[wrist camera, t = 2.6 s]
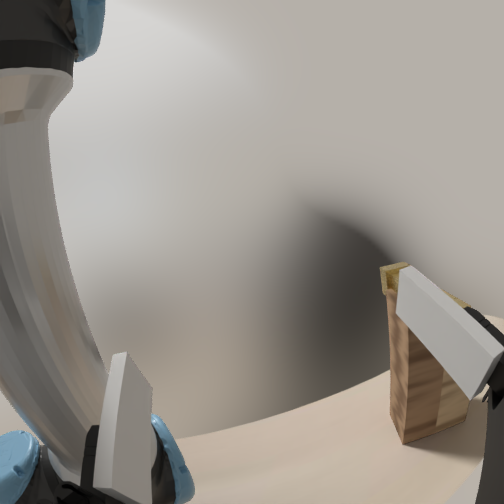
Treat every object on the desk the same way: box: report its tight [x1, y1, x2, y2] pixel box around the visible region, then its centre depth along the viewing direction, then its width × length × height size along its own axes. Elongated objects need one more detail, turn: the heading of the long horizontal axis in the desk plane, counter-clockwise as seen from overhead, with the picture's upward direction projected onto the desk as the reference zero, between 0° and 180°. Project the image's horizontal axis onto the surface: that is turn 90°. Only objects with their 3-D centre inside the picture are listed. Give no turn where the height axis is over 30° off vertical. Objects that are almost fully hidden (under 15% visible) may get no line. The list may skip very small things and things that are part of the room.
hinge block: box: [386, 289, 480, 444], centre depth 37 cm, size 9×12×25 cm
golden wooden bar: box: [380, 262, 471, 309], centre depth 34 cm, size 22×4×4 cm, turn 173°
